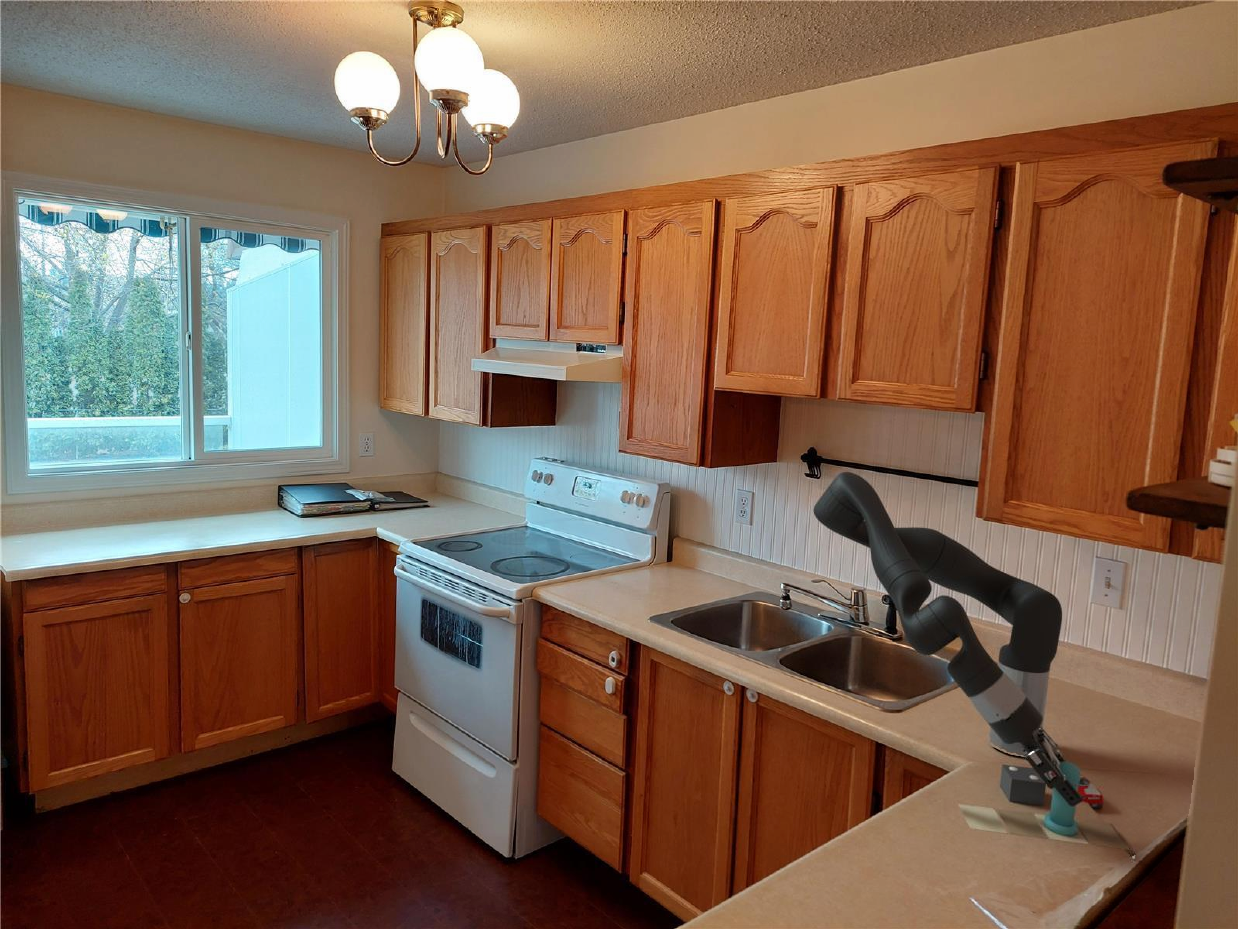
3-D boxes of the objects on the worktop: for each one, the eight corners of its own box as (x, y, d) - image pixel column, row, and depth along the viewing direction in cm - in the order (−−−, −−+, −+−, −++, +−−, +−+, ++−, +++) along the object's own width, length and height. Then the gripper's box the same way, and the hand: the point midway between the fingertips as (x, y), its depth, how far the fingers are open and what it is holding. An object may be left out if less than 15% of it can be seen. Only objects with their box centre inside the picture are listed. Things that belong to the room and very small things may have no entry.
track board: (952, 810, 143) (953, 801, 143) (1110, 830, 140) (1111, 822, 139) (965, 838, 134) (966, 829, 134) (1135, 861, 131) (1136, 852, 131)
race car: (1031, 776, 158) (1033, 755, 158) (1058, 776, 159) (1060, 755, 159) (1078, 812, 145) (1081, 790, 145) (1107, 812, 146) (1110, 790, 146)
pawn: (1039, 818, 139) (1047, 754, 138) (1070, 822, 138) (1078, 757, 137) (1049, 834, 134) (1058, 767, 133) (1082, 838, 134) (1090, 771, 132)
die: (998, 794, 150) (1002, 763, 149) (1031, 798, 149) (1035, 767, 148) (1008, 809, 144) (1011, 778, 144) (1042, 814, 144) (1046, 782, 143)
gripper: (985, 704, 146) (1051, 784, 143) (984, 735, 133) (1057, 823, 130) (1022, 681, 143) (1091, 761, 140) (1025, 709, 130) (1101, 799, 127)
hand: (1074, 791), depth 135 cm, fingers open, 8 cm apart
